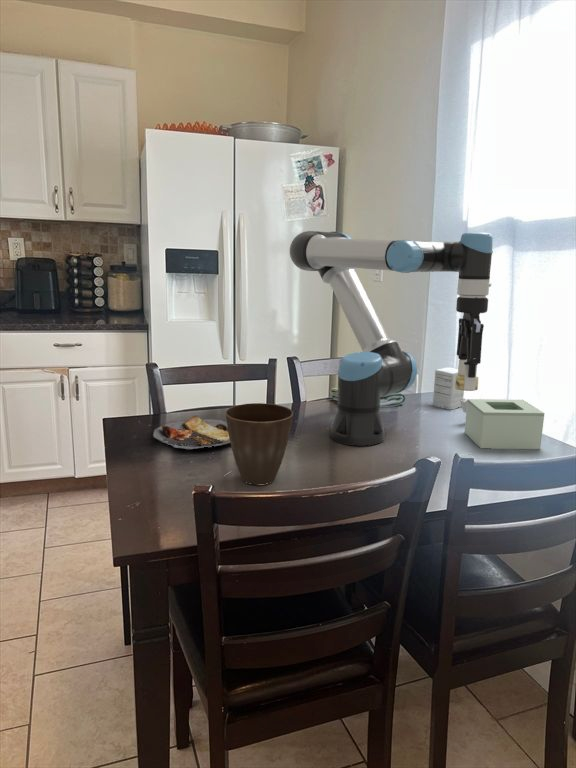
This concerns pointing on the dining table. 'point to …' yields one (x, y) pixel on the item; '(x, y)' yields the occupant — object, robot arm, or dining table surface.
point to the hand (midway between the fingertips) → (465, 386)
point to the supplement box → (446, 389)
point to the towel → (384, 400)
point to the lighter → (464, 404)
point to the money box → (504, 424)
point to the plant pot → (258, 439)
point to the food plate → (195, 424)
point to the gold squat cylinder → (460, 383)
